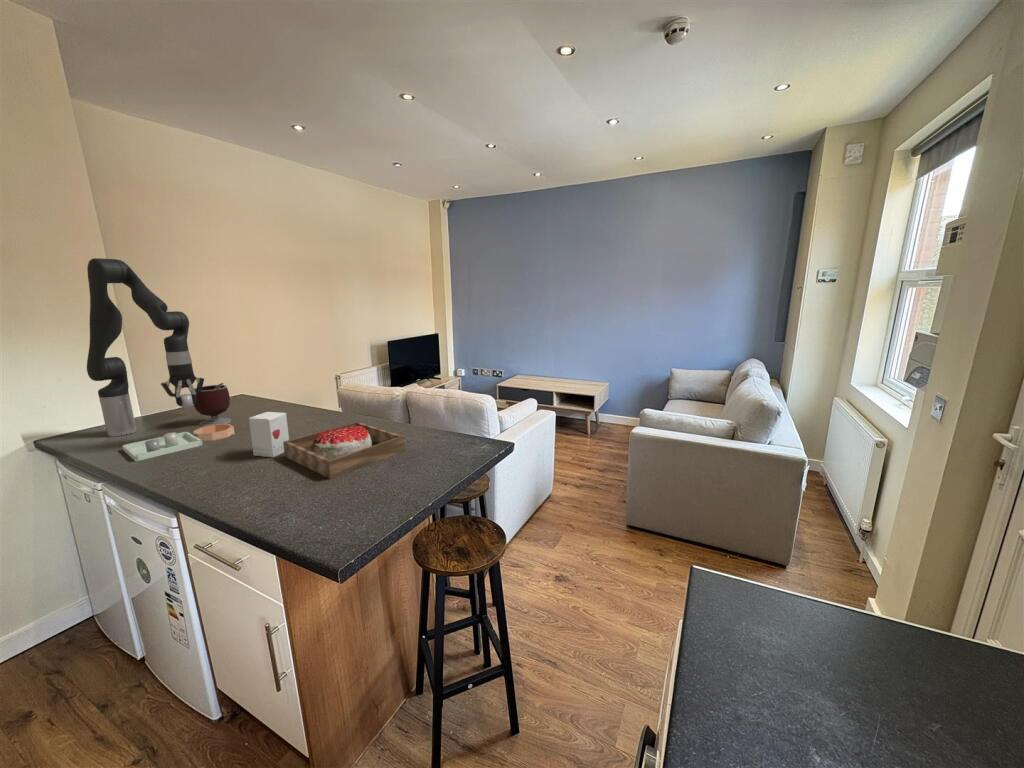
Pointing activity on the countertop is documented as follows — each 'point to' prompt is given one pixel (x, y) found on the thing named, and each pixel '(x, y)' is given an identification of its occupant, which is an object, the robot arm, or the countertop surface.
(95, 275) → the robot arm
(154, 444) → the grey rounded knob
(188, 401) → the pebble
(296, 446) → the wooden tray
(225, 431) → the bowl
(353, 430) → the cake
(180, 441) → the tray
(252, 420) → the supplement box
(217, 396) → the mate gourd
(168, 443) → the pebble
